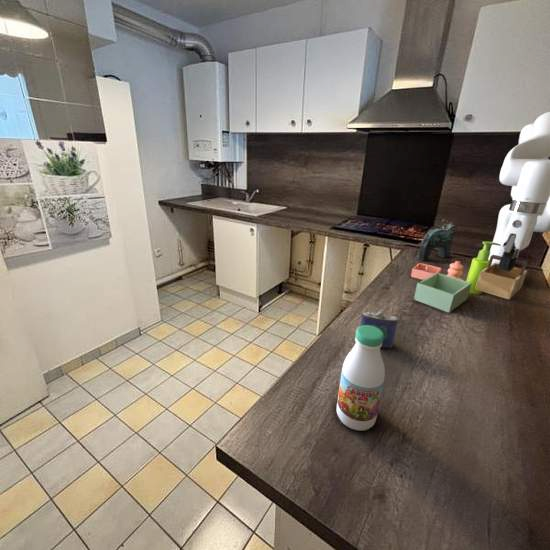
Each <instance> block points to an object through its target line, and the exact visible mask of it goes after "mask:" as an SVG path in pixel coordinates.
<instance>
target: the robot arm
mask: <svg viewBox="0 0 550 550" xmlns="http://www.w3.org/2000/svg"><path fill="white" fill-rule="evenodd" d="M498 176H499V177H498V179H499V182H500V184H502V185H504V186H508V187H509V186H510V187H511V190H510V197H511V202H510V203H509V204H506V205H503V206H502V207H501V208H500V210H499V212H498V217H497V224H496V228H495V229H496V230H495V233H494V236H493V239H492V242H495V243H498V244H500V246H498V245H490V248H489V251H490V255H489V259H488V260H490V257H491V255H497V256H502V257H501V260H497V259H493V261H492V264H493V263H498V264H499V266H498V269H501V270H505V271H511V270H512V269H513V267H515V265H516V264H514V261H515V260H518V257H519V254H520V252H521V251H523V250H525V249H526V248H528V247H529V245H530V243H531V240H532V237H533V234H534V232H536V233H548V232H550V111H547V112H545V113H543V114H540V115H539V116H538V117H537V118H535V120H534V122H532V123H528V124H526V125H525V126H523V128H522V129H521V131H520V133H519V138H518V144H517V145H515V146H514V147H512V149H510V150H509V151H508V153H507V154H506V156H505V158H504V160H503V163H502V166H501V167H500V172H499V175H498Z"/></svg>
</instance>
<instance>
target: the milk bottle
mask: <svg viewBox="0 0 550 550" xmlns="http://www.w3.org/2000/svg"><path fill="white" fill-rule="evenodd" d="M383 337H384V335H383V332H382V331H381V330H380V329H378V328H377V327H374V326H370V325H363V326H358V327H357V329H356V330H355V337H354V341H355V343H354V346H353V347H352V349H351V350H350V351H349V352H348V354H347V355H346V357H345V358H344V360H343V363H342V369H341V374H340V381H339V387H338V395H337V403H336V414H337V417H338V419H339V420H340V422H341V423H342V424H343V425H345V426H346V427H347V428H349V429H352V430H354V431H359V432H360V431H361V432H362V431H363V432H364V431H367V430H369V429H370V428H371V429H372V427H373V426H374V425H375V424H376V421H377V418H378V412H379V408H380V404H381V398H382V394H383V387H384V384H385V376H386V369H385V368H386V367H385V363H384V360H383V357H382V354H381V348H380V347H381V346H382V342H383Z"/></svg>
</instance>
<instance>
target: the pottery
mask: <svg viewBox="0 0 550 550" xmlns="http://www.w3.org/2000/svg"><path fill="white" fill-rule="evenodd" d="M463 270H464V265H463V264H461V261H459V260H455V262H452V263H450V264H449V268H448V269H447V274H446V275H447V276H450V277H454V278H457V279H460V280H463V279H462V275H463V273H464V272H463ZM436 273H440V274H442V267H439V266H435V265H430V264H427V263H422V262H419V263H417V264H416V265H415V266H414V267H413V268H412V269H411V274H410V277H412V278H414V279H419V280H421V281H422V280H424V279H426V278H428V277H430V276H432V275H434V274H436Z"/></svg>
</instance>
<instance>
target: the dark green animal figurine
mask: <svg viewBox="0 0 550 550" xmlns="http://www.w3.org/2000/svg"><path fill="white" fill-rule="evenodd" d="M444 221H446V223H443V222H444ZM441 223H442V225H443V226H441V227H440V226H433V227H430V229H429V230H428V231H427V232H426V234H425V235H424V237H423V238H422V240H421V242H420V245H419V254H418V255H419V256H418V260H419V261H421V262H427V261H428V260H429V257H430V255H431V253H432V252H433V251H434V250H435V249H438V253H437V256H438V257H439V258H443V259H446V258H448V257H449V254H450V251H451V247H452V243H453V239H454V236H456V235H457V231H458V227H457V226H456V225H454V224H453V222H452V221H450V222H449V220H448V219H447V218H444V219H442V221H441Z"/></svg>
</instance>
